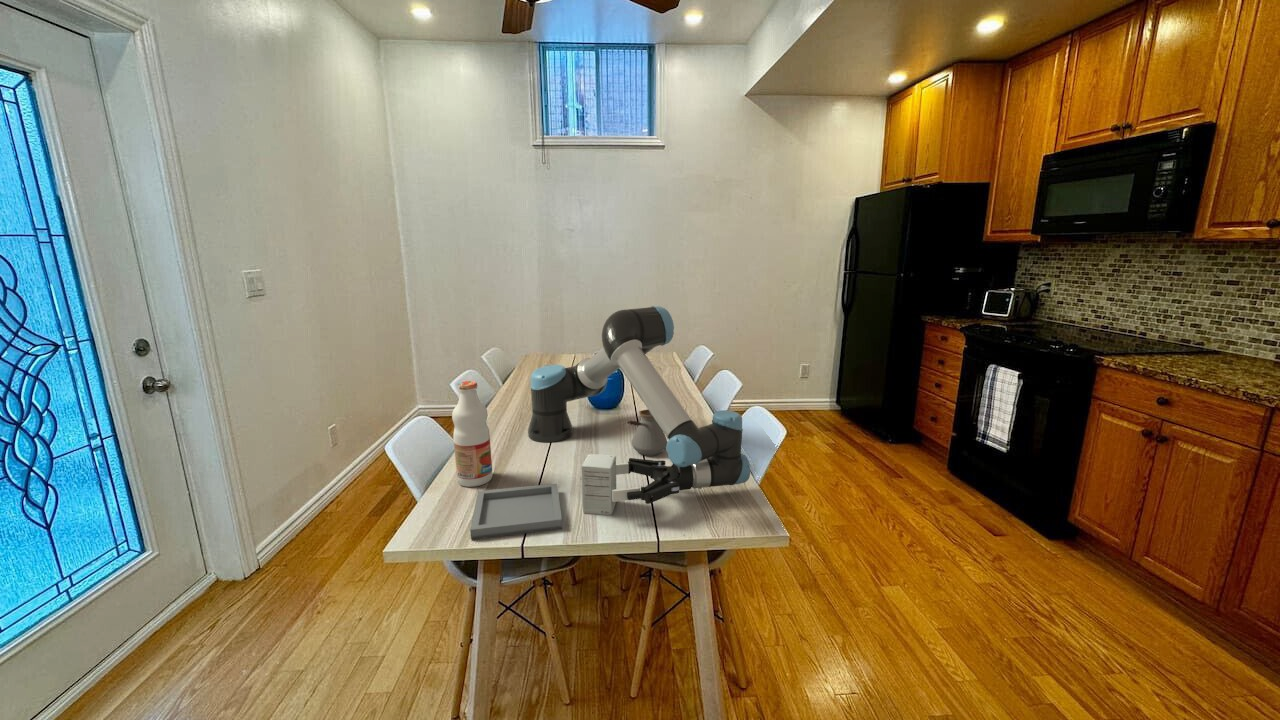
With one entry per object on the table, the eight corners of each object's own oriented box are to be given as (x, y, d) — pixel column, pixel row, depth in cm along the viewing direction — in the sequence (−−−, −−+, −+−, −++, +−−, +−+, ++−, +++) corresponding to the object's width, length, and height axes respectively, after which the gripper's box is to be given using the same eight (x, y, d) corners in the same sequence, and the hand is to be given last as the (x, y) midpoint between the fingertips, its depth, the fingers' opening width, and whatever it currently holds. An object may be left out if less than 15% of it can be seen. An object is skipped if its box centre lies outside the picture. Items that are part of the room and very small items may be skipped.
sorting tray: (478, 500, 127) (478, 491, 127) (557, 492, 132) (557, 483, 131) (471, 539, 110) (470, 529, 110) (561, 529, 114) (561, 519, 114)
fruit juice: (458, 474, 142) (450, 379, 135) (492, 470, 144) (486, 377, 138) (456, 489, 133) (446, 389, 126) (492, 485, 135) (485, 386, 129)
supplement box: (589, 498, 128) (588, 453, 125) (617, 500, 127) (616, 454, 124) (582, 513, 121) (580, 465, 118) (611, 515, 120) (611, 467, 117)
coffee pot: (640, 441, 165) (641, 398, 162) (672, 447, 160) (673, 403, 157) (609, 466, 147) (608, 418, 143) (644, 474, 142) (645, 425, 138)
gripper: (706, 512, 116) (617, 523, 112) (675, 466, 140) (600, 474, 135) (707, 482, 114) (616, 492, 110) (676, 441, 138) (600, 448, 133)
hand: (607, 482), depth 122 cm, fingers open, 13 cm apart
